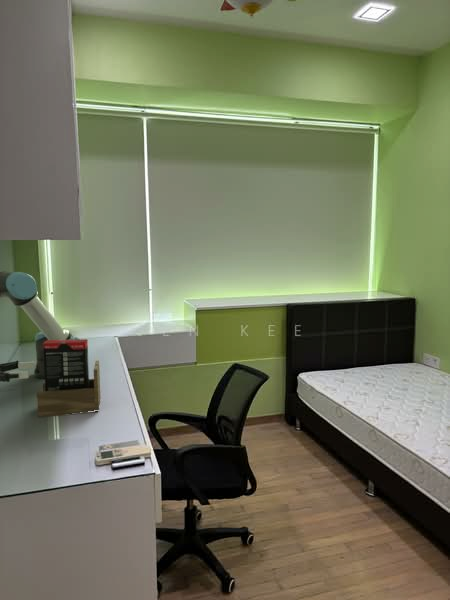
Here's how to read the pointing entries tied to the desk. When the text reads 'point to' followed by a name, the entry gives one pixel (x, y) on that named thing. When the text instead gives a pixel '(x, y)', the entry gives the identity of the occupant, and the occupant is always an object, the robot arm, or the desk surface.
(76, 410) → the walnut shelf slot
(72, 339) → the robot arm
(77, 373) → the graphics card box
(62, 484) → the desk surface
